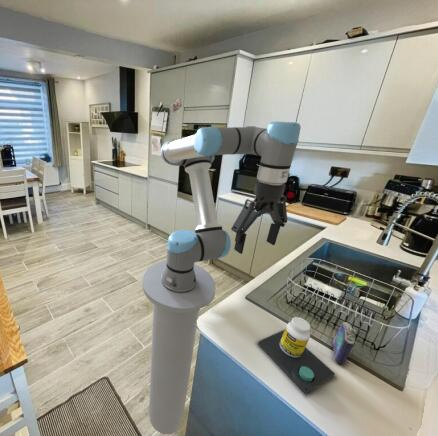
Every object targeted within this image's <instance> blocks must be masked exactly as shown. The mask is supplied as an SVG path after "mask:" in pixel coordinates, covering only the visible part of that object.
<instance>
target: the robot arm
mask: <svg viewBox="0 0 438 436" xmlns="http://www.w3.org/2000/svg"><path fill="white" fill-rule="evenodd" d="M301 128H302V127H301V124H300V123H299V122H295V121H291V122H290V121H271V122H269V123H268V126H267V128H264V127H258V126H256V125H255V126H254V125H252V126H250V125H248V126H247V125H245V126H239V127H238V126H234V127H232V126H231V127H224V126H223V127H221V126H217V127H216V126H207V127H200V128H199V129H197V131H196V132H195V133H194V134H192V135H189V136H186V137H183V138H171V139H168V140H166V141H165V142H164V143H163V144H162V146H161V148H160V156H161V158H162V160H163V161H164V162H165V163H166V164H168V165H170V166H175V167H184V171H185V172H186V173H187V174H188V175H189V176H188V177H189V182H190V187H191V194H192V200H193V207H194V213H195V218H196V225H197V226H196V227H195V229H194V231H193V230H190V229H188V230H187V229H180V230H179V229H178V230H176V231H174V232H172V233H171V234H170V235H169V237H168V239H167V245H166V261H167V263H166V267H165V269H164V271H163V273H162V276H161V282H162V284H163V286H164V287H165V288H166V289H168V290H170V291H172V292H176V293H186V292H189V291H191V290H193V289H194V288H195V286H196V276H195V272H194V264H195V263H199V262H204V261H211V260H219V259H223V258H225V257H226V256H227V255H228V254H229V252H230V250H231V247H232V241H231V240H232V239H231V236H230V235H229V233H228V231H226V230H225V229H223V225H221V223H219V222H218V217H217V212H216V205H215V201H214V194H213V189H212V183H211V177H210V171H209V170H210V168H211V167H212V163H213V162H214V161H215V156H225V155H254V156H257V157H261V158H260V161H259V165H258V170H257V175H256V179H257V180H256V181H255V185H254V189H253V193H254V195H255V197H254V199H253V200H251V199H249V198H248V199H246V200H245V201H244V205H243V207H242V209H241V210H240V212H239V214H238V216H237V217H236V219H235V221H234V222H233V225H232V226H231V228H230V230H231V231H232V232H234V233H235V238H234V247H233V250H234V251H236V252H237V253H238V254H240V255H242V254H243V252H244V247H245V243H246V238H247V233H246V232H247V231H248V230H249V229H250V227H251V226H252V225H253V224H254V223H255V221H256V220H257V219H258V218H260V217H261V216H262V215H265V214H269V216H270V218H271V221H272V223H270V226H269V230H268V234H267V238H266V243H268V244H269V245H272V246H275V245H276V242H277V239H278V235H279V233H280V229H281V227H282V228H284V227H285V225H286V224H287V223H288V212H287V200H288V199H287V198H288V197H287V196H286V195H284V193H285V189H286V183H287V181H288V177H289V175H290V170H291V168H292V167H291V166H292V162H293V159H294V156H295V152H296V149H297V146H298V143H299V138H300V133H301Z"/></svg>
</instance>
